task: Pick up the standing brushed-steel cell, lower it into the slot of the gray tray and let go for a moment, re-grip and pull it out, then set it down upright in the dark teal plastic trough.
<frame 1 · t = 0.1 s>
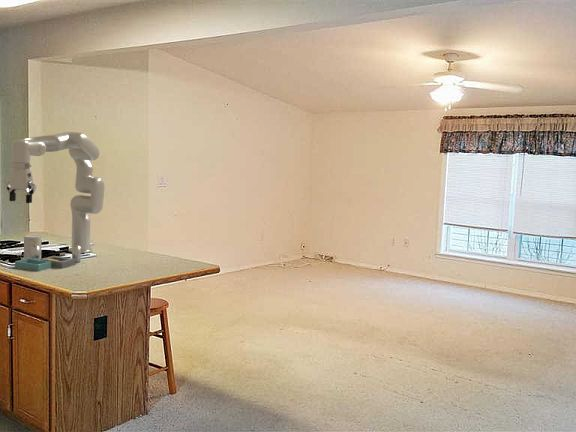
hand: (20, 201, 265), 31 cm above the table, fingers open, 9 cm apart
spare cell: (35, 262, 277), on the table
cup: (32, 259, 284), on the table
steel cell: (76, 262, 284), on the table
gray tray: (57, 264, 275), on the table
trough: (33, 267, 266), on the table
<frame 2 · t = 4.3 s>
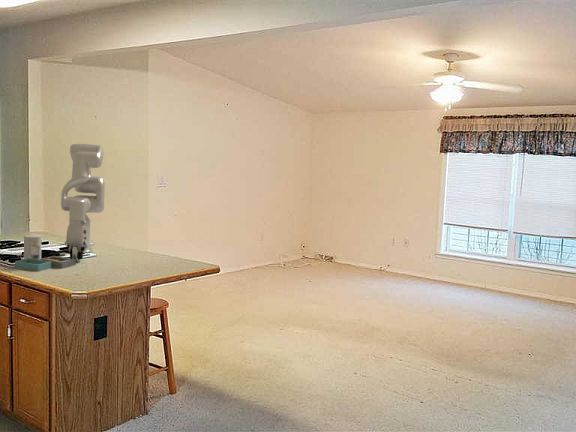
hand: (76, 258, 283), 2 cm above the table, fingers closed on steel cell, 4 cm apart
steel cell: (76, 262, 284), on the table, touching gripper
everything else where it was.
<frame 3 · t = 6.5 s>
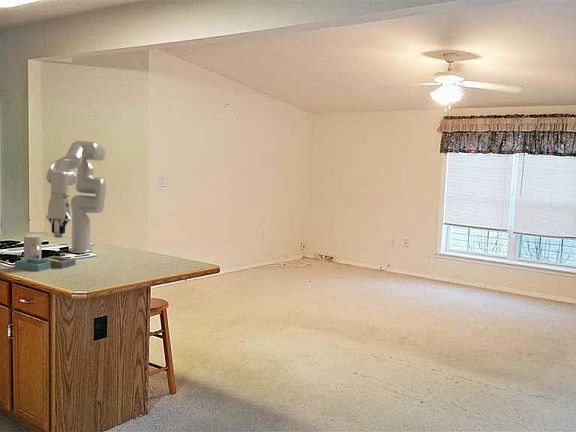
hand: (58, 232, 273), 16 cm above the table, fingers closed on steel cell, 4 cm apart
steel cell: (58, 236, 273), point 14 cm above the table, touching gripper
everything else where it was.
when the fingers open (4 cm above the table, at t = 9.0 s): steel cell stays where it is, resting on gray tray.
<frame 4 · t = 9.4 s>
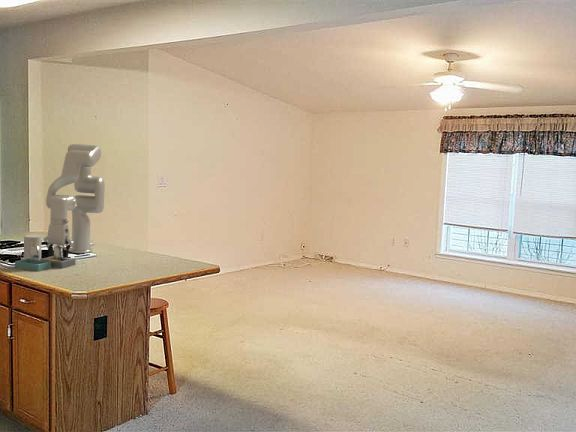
hand: (57, 256, 275), 4 cm above the table, fingers open, 8 cm apart
steel cell: (57, 263, 275), point 1 cm above the table, touching gray tray
everything else where it was.
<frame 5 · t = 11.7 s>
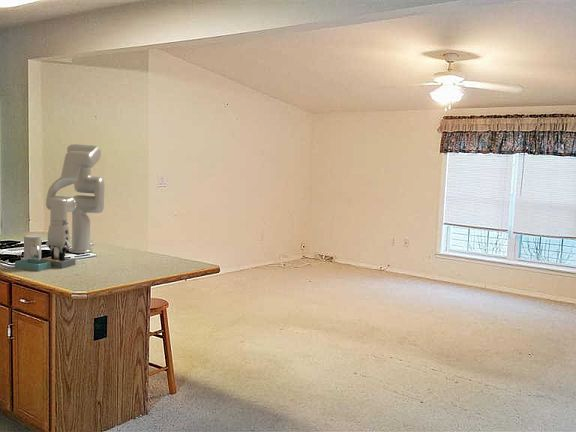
hand: (57, 259, 275), 3 cm above the table, fingers closed on steel cell, 4 cm apart
steel cell: (57, 263, 275), point 1 cm above the table, touching gray tray, gripper
everything else where it was.
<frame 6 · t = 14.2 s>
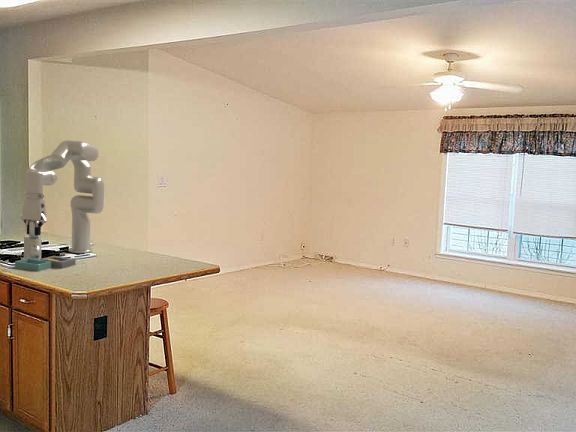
hand: (33, 234, 264), 16 cm above the table, fingers closed on steel cell, 4 cm apart
steel cell: (33, 238, 264), point 14 cm above the table, touching gripper
everything else where it was.
when the fingers open (4 cm above the table, at t = 16.7 s): steel cell stays where it is, resting on trough.
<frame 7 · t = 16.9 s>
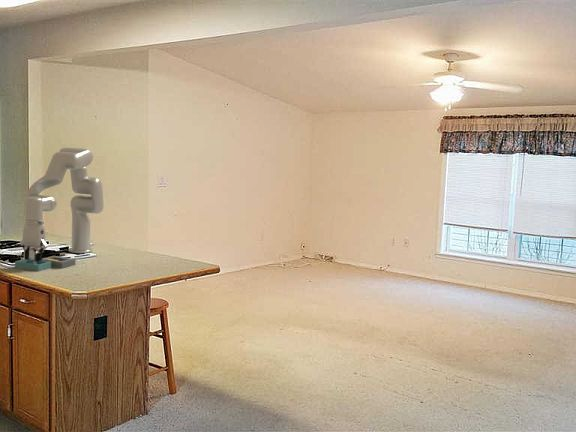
hand: (33, 259, 266), 4 cm above the table, fingers open, 6 cm apart
steel cell: (33, 266, 266), point 1 cm above the table, touching trough
everything else where it was.
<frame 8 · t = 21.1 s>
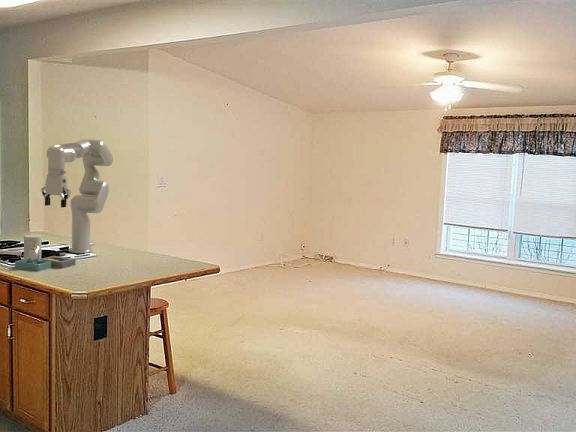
hand: (55, 206, 279), 28 cm above the table, fingers open, 9 cm apart
nothing on the table moved.
at the end: steel cell inside the target area on the trough (0.0 cm from its centre), point 0.6 cm above the trough's base; steel cell tilted 0°; the gripper is holding nothing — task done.
